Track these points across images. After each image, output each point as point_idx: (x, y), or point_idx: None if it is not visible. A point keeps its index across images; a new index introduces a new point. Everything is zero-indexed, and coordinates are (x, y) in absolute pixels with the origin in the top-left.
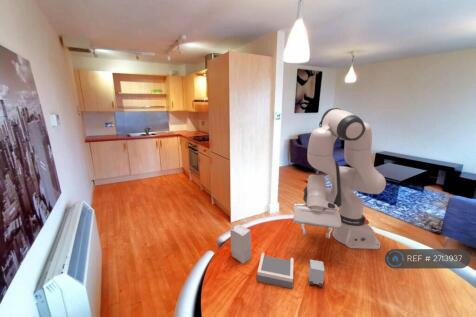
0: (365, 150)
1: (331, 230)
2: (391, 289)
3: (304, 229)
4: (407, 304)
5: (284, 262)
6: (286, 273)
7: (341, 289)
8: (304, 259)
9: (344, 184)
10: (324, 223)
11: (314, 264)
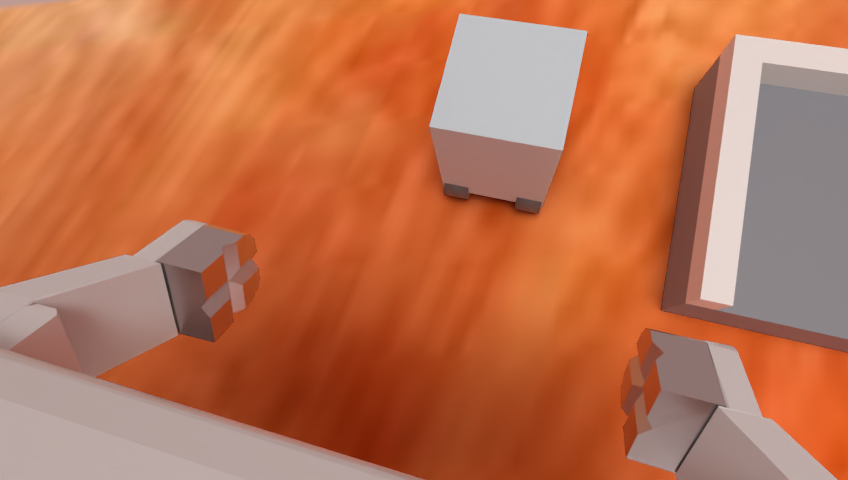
0: None
1: (39, 281)
2: (32, 132)
3: (737, 412)
4: (31, 43)
5: (785, 279)
6: (771, 139)
7: (340, 109)
8: (526, 412)
9: None
10: (38, 418)
11: (534, 82)
